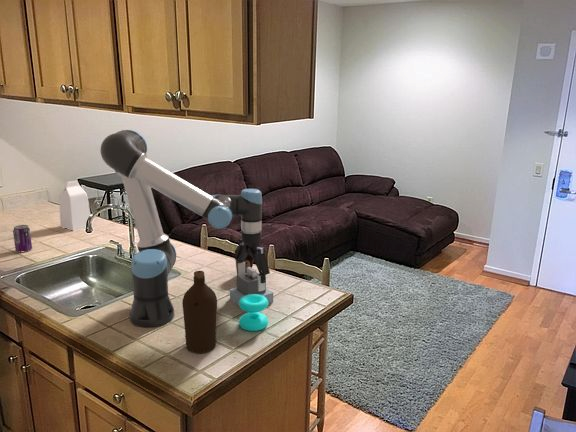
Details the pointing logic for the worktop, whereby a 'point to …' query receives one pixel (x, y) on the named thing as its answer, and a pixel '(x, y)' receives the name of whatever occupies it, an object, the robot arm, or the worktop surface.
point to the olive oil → (200, 315)
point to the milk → (73, 206)
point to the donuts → (253, 312)
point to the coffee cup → (247, 261)
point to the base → (237, 295)
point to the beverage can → (22, 238)
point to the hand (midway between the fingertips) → (251, 284)
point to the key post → (251, 273)
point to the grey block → (248, 285)
